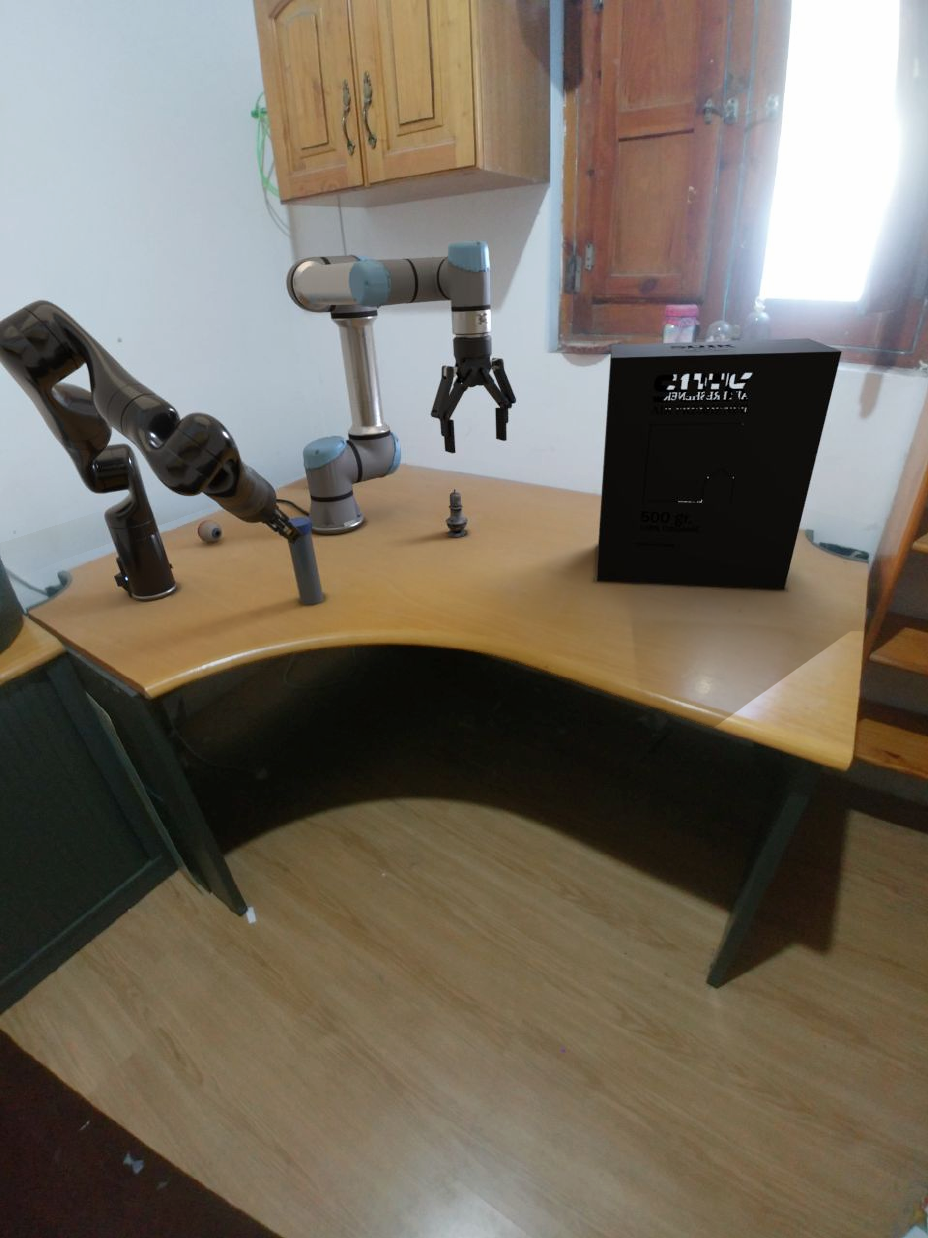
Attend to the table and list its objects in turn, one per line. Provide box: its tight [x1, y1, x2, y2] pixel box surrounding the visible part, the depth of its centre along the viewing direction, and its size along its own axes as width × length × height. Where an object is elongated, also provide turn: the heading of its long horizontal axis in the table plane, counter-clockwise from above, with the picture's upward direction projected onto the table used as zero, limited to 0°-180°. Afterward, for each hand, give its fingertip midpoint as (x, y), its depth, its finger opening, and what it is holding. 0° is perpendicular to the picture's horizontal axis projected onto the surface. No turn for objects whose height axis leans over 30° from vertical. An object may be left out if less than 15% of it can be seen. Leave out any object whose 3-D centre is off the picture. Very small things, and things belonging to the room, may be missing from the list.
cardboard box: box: [596, 337, 842, 591], centre depth 125 cm, size 38×20×45 cm, turn 78°
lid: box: [289, 516, 313, 536], centre depth 123 cm, size 6×6×2 cm
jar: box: [287, 531, 324, 606], centre depth 127 cm, size 5×5×17 cm
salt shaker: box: [444, 488, 469, 538], centre depth 156 cm, size 6×6×12 cm
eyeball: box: [197, 519, 223, 544], centre depth 161 cm, size 6×6×6 cm
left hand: (277, 518), depth 109 cm, fingers open, 8 cm apart
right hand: (476, 445), depth 127 cm, fingers open, 13 cm apart
